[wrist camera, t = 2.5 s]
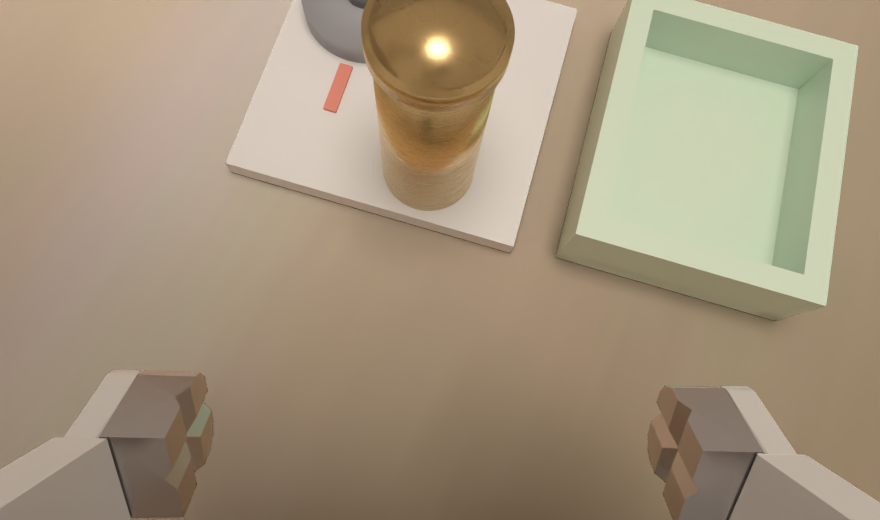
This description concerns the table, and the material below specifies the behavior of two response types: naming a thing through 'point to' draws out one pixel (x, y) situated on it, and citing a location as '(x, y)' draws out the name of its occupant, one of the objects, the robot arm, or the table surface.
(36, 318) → the table surface
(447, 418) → the table surface
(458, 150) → the amber drinking glass
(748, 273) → the tray
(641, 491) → the table surface
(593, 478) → the table surface
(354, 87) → the crank jig
